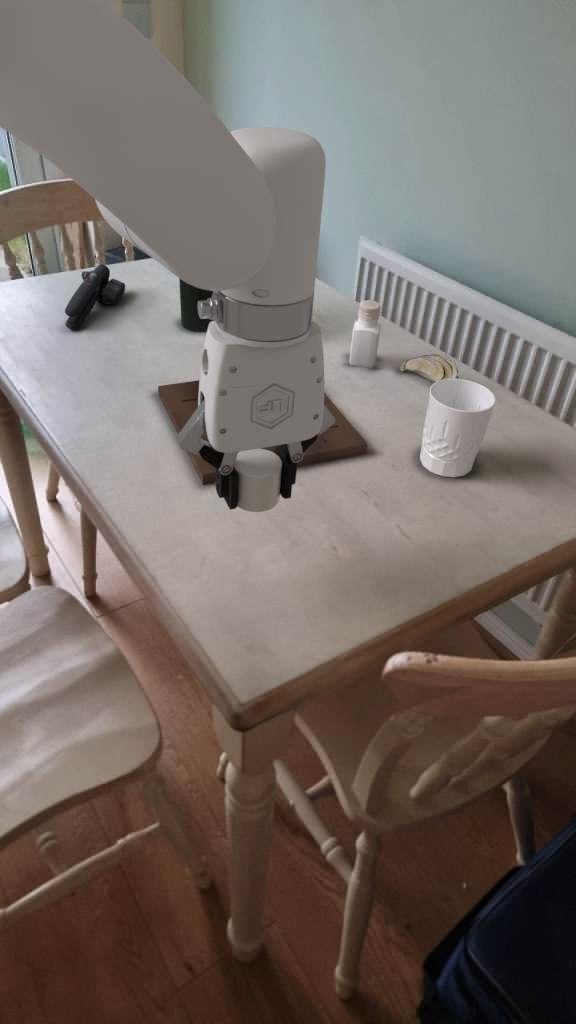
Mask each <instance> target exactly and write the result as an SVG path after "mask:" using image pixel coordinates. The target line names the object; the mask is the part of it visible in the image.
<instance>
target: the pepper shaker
mask: <svg viewBox="0 0 576 1024" xmlns="http://www.w3.org/2000/svg"><path fill="white" fill-rule="evenodd" d="M381 307H382V306H381V303H380V302H379V301H375V300H370V299H369V300H368V299H367V300H366V299H365V300H361V301H360V302H359V305H358V312H357V317H358V318H357V320H355V321H354V324H353V327H352V334H351V335H352V336H351V343H350V352H349V359H348V362H349V365H352V366H356V367H364V368H373V367H374V366H375V365H376V361H377V356H378V349H379V343H380V336H381V328H382V324H381V323H379V319H380V314H381V310H382V309H381Z"/></svg>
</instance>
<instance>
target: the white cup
mask: <svg viewBox="0 0 576 1024" xmlns="http://www.w3.org/2000/svg"><path fill="white" fill-rule="evenodd" d="M496 402H497V399H496V396H495V394H494V393H493V392H492V390H491V389H489V388H487V386H484V385H483V384H480V383H478V382H475V381H472V380H468V379H463V378H458V379H444V380H440V381H437V382H435V383H434V382H433V383H432V384H431V386H430V387H429V392H428V398H427V403H426V409H425V411H426V412H425V417H424V421H423V430H422V442H421V449H420V456H419V460H420V462H421V464H422V466H423V467H424V468H425V469H426V470H428V471H429V472H430V473H433V474H435V475H438V476H440V477H446V478H458V477H464V476H466V475H468V474H469V473H470V472H471V471H472V469H473V465H474V463H475V460H476V457H477V455H478V453H479V451H480V448H481V446H482V443H483V440H484V437H485V435H486V433H487V429H488V427H489V423H490V420H491V417H492V414H493V412H494V408H495V406H496Z"/></svg>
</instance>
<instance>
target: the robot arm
mask: <svg viewBox="0 0 576 1024" xmlns="http://www.w3.org/2000/svg"><path fill="white" fill-rule="evenodd" d="M0 128H1V129H3V130H4V131H5V132H7V133H9V134H10V135H11V136H13V137H15V138H17V139H18V140H20V141H21V142H22V143H24V144H25V145H27V146H28V147H29V148H31V149H32V150H34V151H35V152H36V153H38V154H39V155H40V156H41V157H43V158H44V159H45V160H47V161H49V162H50V163H51V164H52V165H53V166H55V167H56V168H57V169H58V170H60V171H61V172H62V173H64V174H65V175H66V176H67V177H68V178H69V179H70V180H72V181H73V182H74V183H76V185H78V186H79V187H80V188H81V189H82V190H84V191H85V192H86V193H87V194H88V195H90V196H91V197H92V198H93V199H94V201H95V204H96V207H97V208H98V211H99V213H100V214H101V216H102V218H103V219H104V220H105V222H106V223H107V224H108V225H109V227H110V228H112V230H114V232H116V234H118V235H119V237H120V236H121V238H123V239H124V240H126V241H127V242H128V243H130V244H131V245H132V246H134V247H135V248H136V249H138V250H139V251H140V252H142V253H144V254H145V255H147V256H149V257H151V258H152V259H153V260H155V261H156V262H157V263H159V265H161V266H163V267H164V268H165V269H167V271H169V272H171V273H172V274H173V275H175V277H177V278H178V279H179V278H180V279H181V280H183V281H184V282H186V283H188V284H190V285H192V286H195V287H197V288H200V289H204V290H210V291H213V294H212V298H208V299H207V300H204V301H198V314H199V317H200V319H207V318H209V319H210V320H215V321H211V322H210V323H209V326H208V330H207V331H206V334H205V339H204V344H203V349H202V355H201V360H200V361H201V362H200V370H199V395H198V408H197V409H196V411H195V412H194V413H193V415H192V416H191V417H190V419H189V420H188V422H187V423H186V424H185V426H184V427H183V428H182V430H181V431H180V432H179V434H178V433H177V435H176V440H177V442H178V445H179V446H180V448H181V449H182V450H184V451H186V452H187V451H188V452H190V453H192V454H194V455H198V456H200V457H202V459H203V460H205V461H206V462H208V463H209V464H210V465H212V466H213V467H215V468H216V482H215V491H216V494H217V496H218V497H219V499H224V501H225V503H226V505H227V508H228V509H229V510H231V511H232V510H236V509H237V508H239V507H238V479H239V477H238V473H237V471H236V470H235V468H234V464H235V461H236V458H237V454H238V452H240V451H247V450H253V449H259V448H265V447H271V446H277V445H280V446H278V447H276V450H275V451H274V453H275V454H276V455H278V456H279V458H280V459H281V461H282V473H281V486H280V497H281V498H283V499H285V500H287V499H291V498H292V492H293V491H292V489H293V485H296V481H297V469H298V466H297V462H300V461H301V460H302V459H303V453H304V452H305V451H306V450H307V449H308V448H309V447H310V446H311V445H312V444H313V443H314V442H315V441H316V439H317V437H318V435H319V434H320V435H321V434H322V433H323V432H325V431H326V430H327V429H329V428H330V427H331V426H332V425H333V424H334V423H335V418H334V417H333V415H332V414H331V413H330V411H329V410H328V409H327V407H326V406H325V405H324V393H325V361H324V359H325V358H324V357H325V356H324V348H323V347H324V346H323V345H324V344H323V337H322V330H321V327H320V326H319V324H317V323H316V322H315V321H313V311H314V300H315V287H316V275H317V268H318V267H317V266H318V257H319V245H320V234H321V224H322V212H323V201H324V191H325V182H326V181H325V180H326V166H327V161H326V154H325V151H324V150H325V149H324V148H323V146H322V144H321V143H320V142H319V141H318V140H317V139H316V138H315V137H314V136H311V135H310V134H307V133H305V132H302V131H299V130H294V129H289V128H283V127H282V128H281V127H273V126H272V127H271V126H250V127H242V128H238V129H234V130H232V131H230V130H229V129H228V127H227V126H226V125H225V124H224V122H223V121H222V120H221V118H220V117H219V116H218V115H217V114H216V112H215V111H214V110H213V109H212V108H211V106H210V105H209V103H207V101H206V100H205V98H203V96H202V95H201V94H200V93H199V91H197V90H196V88H195V87H194V86H193V85H192V84H191V83H190V82H189V80H187V79H186V77H185V76H184V75H183V74H182V73H181V72H180V71H179V70H178V69H177V68H176V67H175V66H174V65H173V64H172V63H171V61H170V60H169V59H168V58H167V57H166V56H165V55H164V54H162V52H161V51H160V50H158V48H157V47H156V46H155V45H154V44H153V43H151V41H150V40H149V39H147V38H146V36H144V35H143V33H141V31H139V29H137V28H136V27H135V26H134V25H133V24H132V23H131V22H130V21H129V20H128V19H127V18H126V17H124V15H122V13H121V12H120V11H119V10H118V9H116V8H115V6H114V5H113V4H111V2H110V1H109V0H0ZM205 431H207V436H208V440H209V441H208V440H206V439H201V436H202V435H203V433H204V432H205Z"/></svg>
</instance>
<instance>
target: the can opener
mask: <svg viewBox="0 0 576 1024" xmlns="http://www.w3.org/2000/svg"><path fill="white" fill-rule="evenodd" d="M110 277H111V270H110V268H109V266H106V265H105V264H99V265H97V266H95V268H94V269H93V270H90V271H89V270H88V271H87V270H85V271H82V272H81V279H82V282H81V284H80V285H79V286H78V288H77V289H76V291H74V293H73V294H72V296H71V298H70V299H69V301H68V303H67V305H66V307H65V308H64V314H65V315H66V316H68V318H67V320H66V322H65V324H64V325H65V327H66V328H68V329H69V330H77V329H79V328H80V327H81V326H82V325H83V323H84V322H85V321H86V320H87V318H88V317H89V315H90V313H92V311H93V308H94V307H95V306H96V304H97V303H98V301H100V300H101V303H102V304H106V305H107V304H108V305H117V304H118V303H119V302H120V301H121V300H122V298H123V297H124V294H125V291H126V284H125V283H124V282H123V281H120V280H118V279H115V278H110Z"/></svg>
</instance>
